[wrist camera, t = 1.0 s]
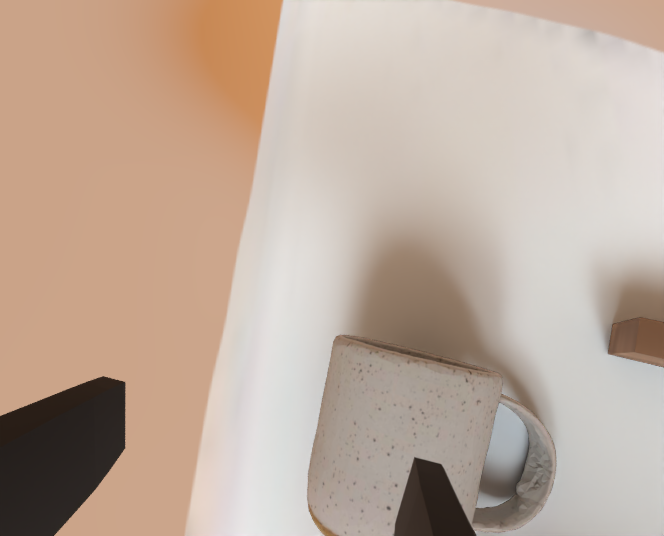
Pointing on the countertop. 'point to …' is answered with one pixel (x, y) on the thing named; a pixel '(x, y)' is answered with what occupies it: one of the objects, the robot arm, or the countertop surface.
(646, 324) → the brown wooden tray
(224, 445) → the countertop surface
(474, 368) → the ceramic mug
